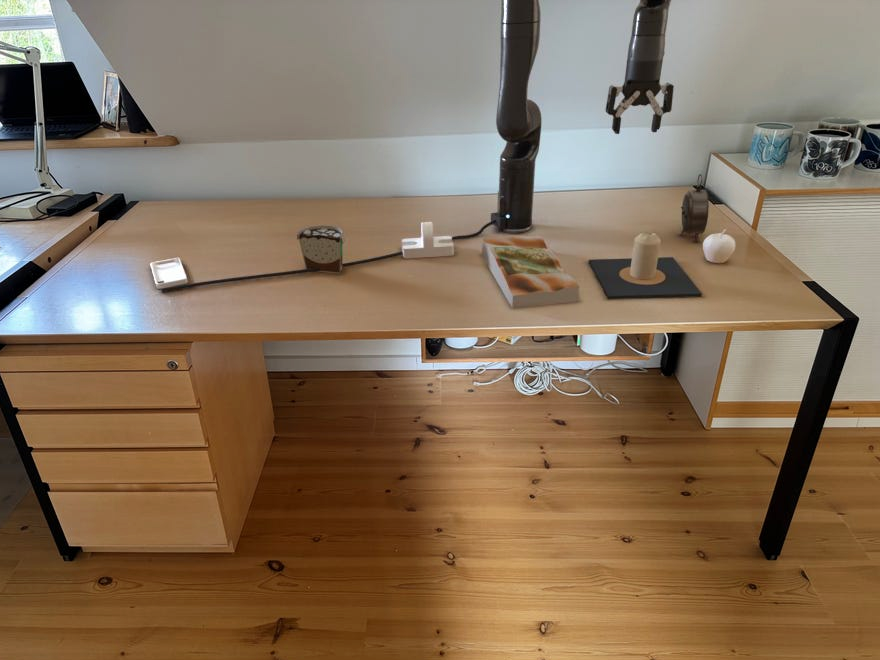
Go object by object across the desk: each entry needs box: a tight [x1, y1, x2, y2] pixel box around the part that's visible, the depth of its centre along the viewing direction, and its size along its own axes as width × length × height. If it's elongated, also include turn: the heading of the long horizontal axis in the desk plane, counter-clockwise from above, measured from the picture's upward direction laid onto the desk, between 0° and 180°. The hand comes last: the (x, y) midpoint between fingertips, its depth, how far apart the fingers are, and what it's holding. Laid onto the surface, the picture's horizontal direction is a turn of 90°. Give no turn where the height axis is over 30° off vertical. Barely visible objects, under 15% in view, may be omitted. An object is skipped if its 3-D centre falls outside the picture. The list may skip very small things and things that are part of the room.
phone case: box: [150, 257, 189, 290], centre depth 167 cm, size 7×1×15 cm
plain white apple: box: [702, 228, 736, 264], centre depth 158 cm, size 7×7×8 cm
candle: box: [630, 231, 662, 280], centre depth 150 cm, size 6×6×10 cm
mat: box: [588, 256, 703, 300], centre depth 153 cm, size 20×20×1 cm
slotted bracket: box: [401, 221, 455, 259], centre depth 171 cm, size 13×7×8 cm, turn 93°
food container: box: [296, 224, 346, 275], centre depth 165 cm, size 12×6×10 cm, turn 71°
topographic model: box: [481, 235, 580, 309], centre depth 156 cm, size 30×14×5 cm, turn 7°
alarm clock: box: [679, 173, 710, 243], centre depth 170 cm, size 11×5×16 cm, turn 168°
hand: (635, 132), depth 156 cm, fingers open, 8 cm apart
